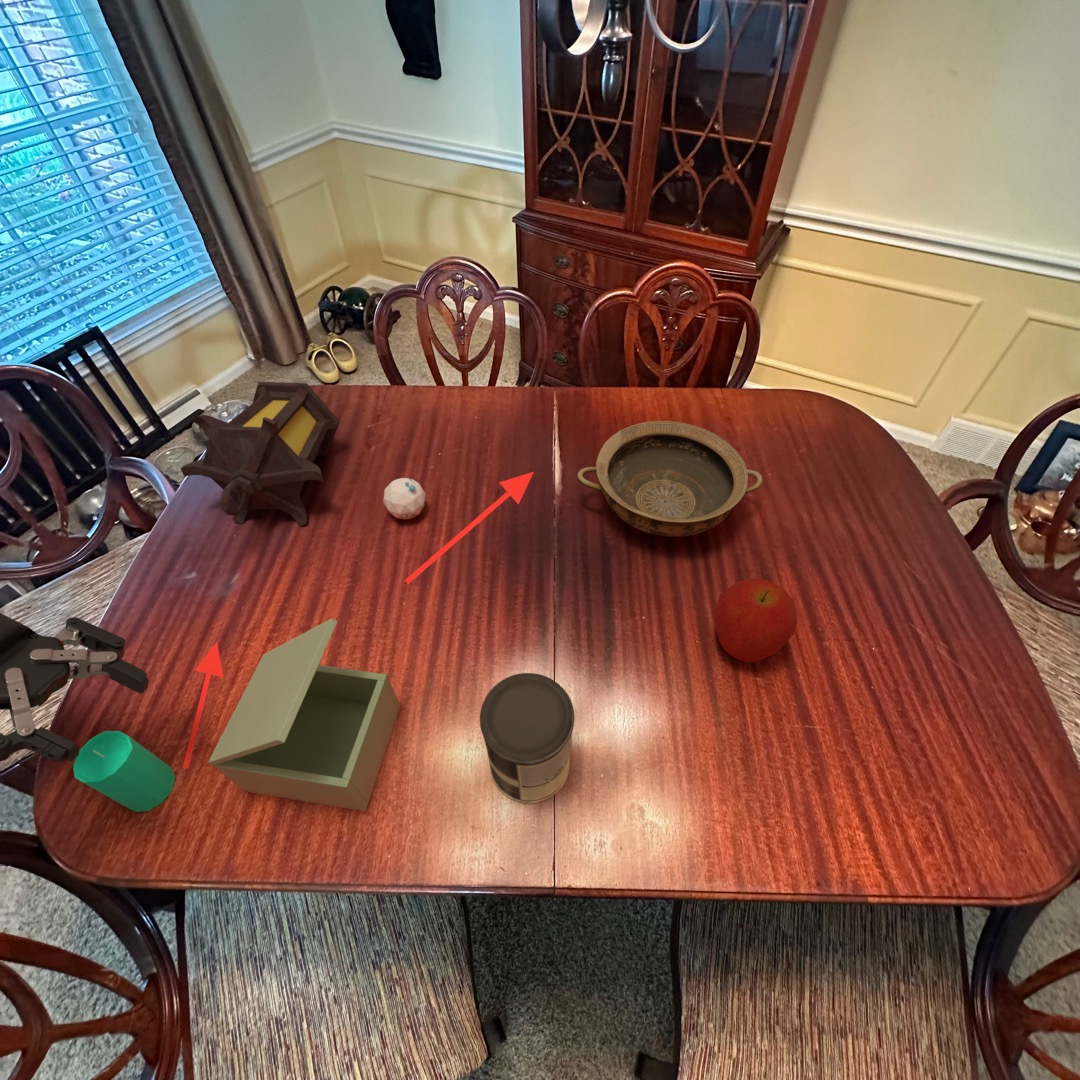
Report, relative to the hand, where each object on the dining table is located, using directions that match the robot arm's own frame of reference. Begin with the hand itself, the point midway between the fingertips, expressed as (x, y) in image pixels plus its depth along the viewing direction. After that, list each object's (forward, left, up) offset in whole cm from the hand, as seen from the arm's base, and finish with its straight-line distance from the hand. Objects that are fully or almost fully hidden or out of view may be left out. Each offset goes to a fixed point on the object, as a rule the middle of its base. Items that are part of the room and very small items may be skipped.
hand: (113, 718), depth 59 cm
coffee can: (+28, -29, -21) cm, 45 cm away
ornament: (+48, +15, -21) cm, 54 cm away
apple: (+60, -42, -21) cm, 76 cm away
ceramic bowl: (+76, -19, -21) cm, 81 cm away
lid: (+12, -6, -6) cm, 15 cm away
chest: (+13, -7, -21) cm, 25 cm away
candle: (-4, +6, -21) cm, 22 cm away
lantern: (+37, +35, -21) cm, 55 cm away
